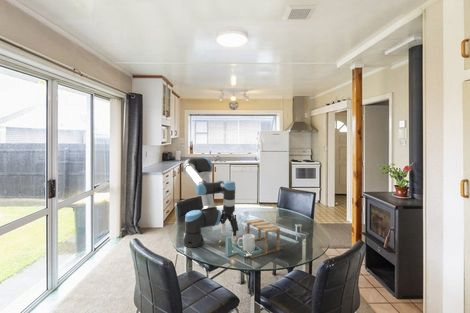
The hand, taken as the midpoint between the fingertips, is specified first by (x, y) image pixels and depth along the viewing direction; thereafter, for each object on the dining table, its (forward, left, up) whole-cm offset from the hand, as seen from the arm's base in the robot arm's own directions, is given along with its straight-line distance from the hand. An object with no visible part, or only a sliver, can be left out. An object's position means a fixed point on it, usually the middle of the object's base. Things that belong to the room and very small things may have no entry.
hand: (228, 236), depth 172 cm
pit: (0, +41, -13) cm, 43 cm away
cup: (0, +14, -13) cm, 19 cm away
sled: (0, +10, -12) cm, 16 cm away
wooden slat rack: (0, +24, -13) cm, 27 cm away
